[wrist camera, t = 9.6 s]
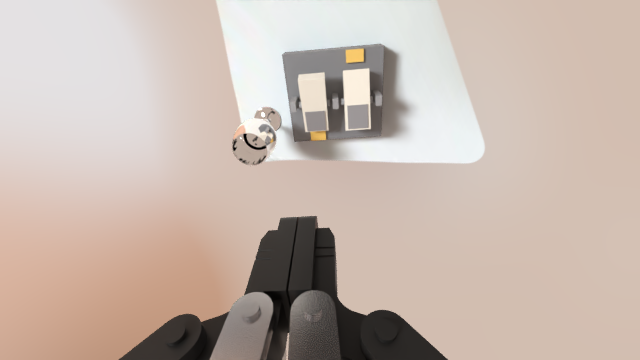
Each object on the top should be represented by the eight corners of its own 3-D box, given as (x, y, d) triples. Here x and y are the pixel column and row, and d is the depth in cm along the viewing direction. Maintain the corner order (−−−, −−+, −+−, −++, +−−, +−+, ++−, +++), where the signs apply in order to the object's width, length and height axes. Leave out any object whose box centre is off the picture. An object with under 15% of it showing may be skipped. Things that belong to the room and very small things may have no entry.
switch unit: (285, 52, 40) (278, 57, 34) (380, 43, 39) (388, 47, 34) (296, 135, 46) (292, 150, 41) (377, 130, 46) (384, 144, 40)
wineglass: (290, 112, 44) (278, 141, 34) (277, 141, 47) (262, 175, 37) (257, 96, 43) (235, 120, 33) (246, 126, 46) (222, 158, 36)
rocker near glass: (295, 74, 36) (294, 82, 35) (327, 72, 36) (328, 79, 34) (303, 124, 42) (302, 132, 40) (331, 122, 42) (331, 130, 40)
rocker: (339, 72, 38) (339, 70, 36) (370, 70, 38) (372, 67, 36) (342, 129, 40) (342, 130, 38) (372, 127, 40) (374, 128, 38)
